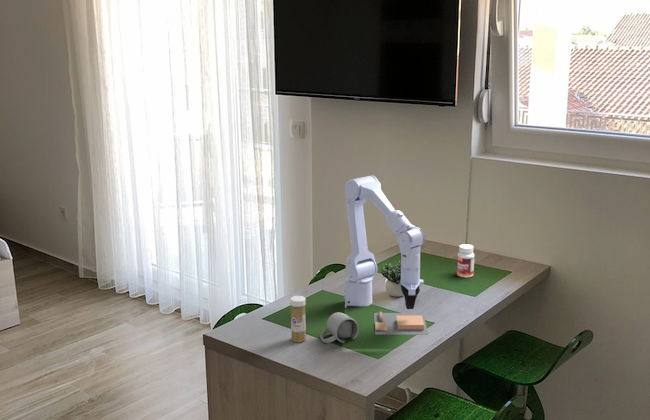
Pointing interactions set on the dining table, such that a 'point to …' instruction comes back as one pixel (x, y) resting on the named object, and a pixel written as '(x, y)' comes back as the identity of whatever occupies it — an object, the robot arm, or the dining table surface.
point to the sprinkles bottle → (298, 318)
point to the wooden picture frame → (410, 323)
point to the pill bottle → (465, 261)
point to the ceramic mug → (340, 328)
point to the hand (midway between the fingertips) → (409, 308)
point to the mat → (392, 324)
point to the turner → (380, 323)
